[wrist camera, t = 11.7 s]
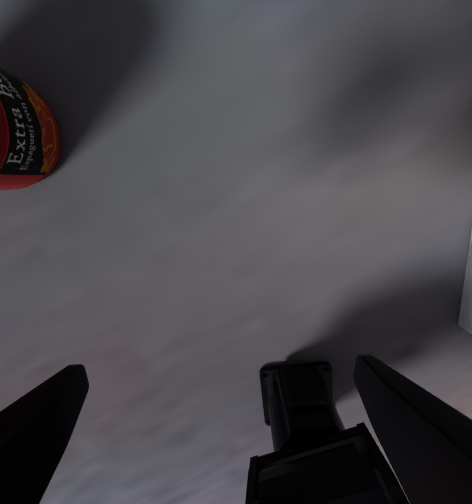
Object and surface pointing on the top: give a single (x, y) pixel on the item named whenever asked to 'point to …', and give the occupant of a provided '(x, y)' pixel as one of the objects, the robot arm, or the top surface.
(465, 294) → the tray
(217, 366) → the top surface
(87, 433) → the top surface
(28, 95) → the canned food
